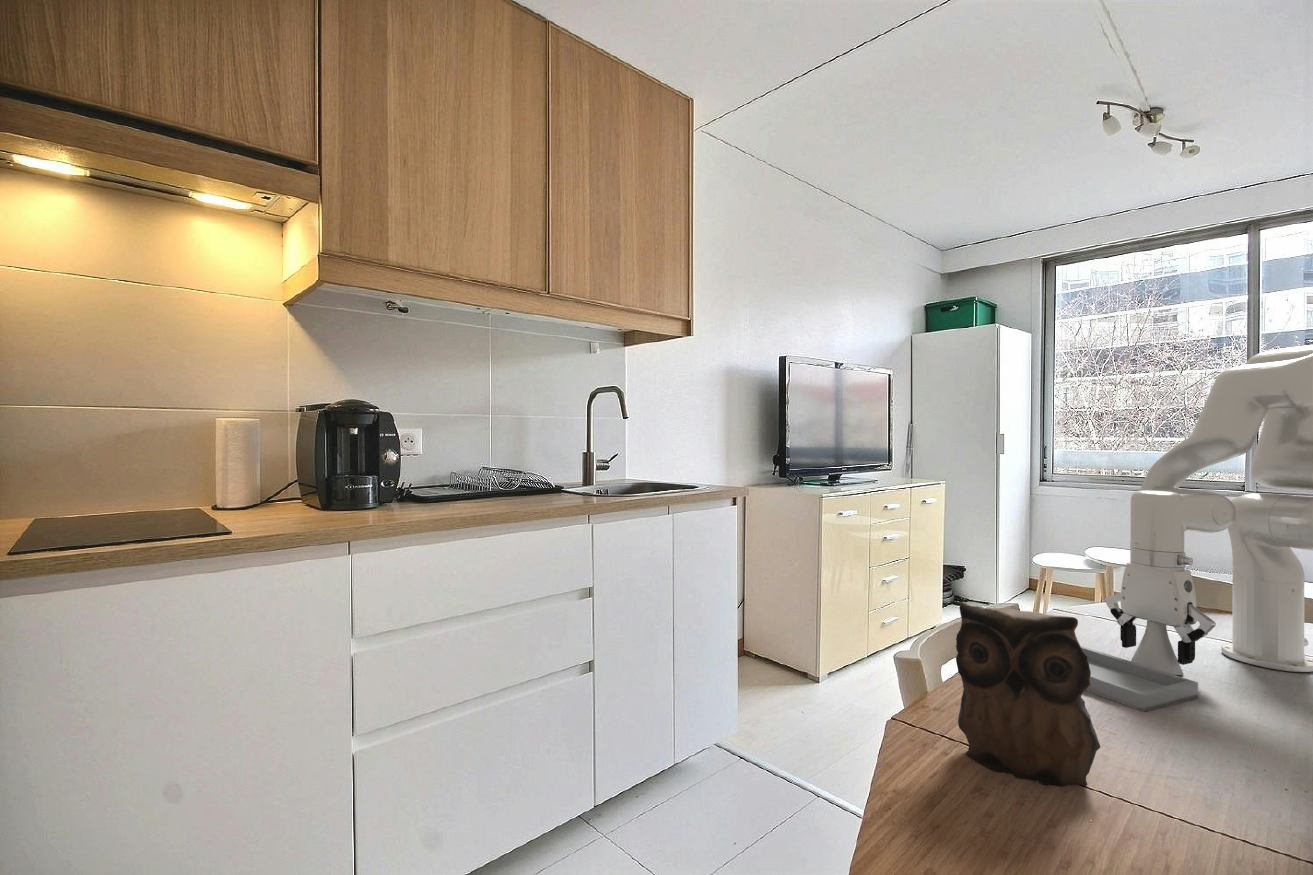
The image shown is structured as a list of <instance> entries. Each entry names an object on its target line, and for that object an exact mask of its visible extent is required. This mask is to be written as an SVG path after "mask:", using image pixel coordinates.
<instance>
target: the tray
mask: <svg viewBox="0 0 1313 875" xmlns="http://www.w3.org/2000/svg"><path fill="white" fill-rule="evenodd" d="M1080 646H1081V648H1082V650H1083V652H1084V653H1085V654H1086V655H1087V656H1088V658H1087V659H1088V663H1089V667H1090V671H1091V676H1090V683H1091V685H1090V686H1089V687H1088V688H1087V689H1086V690H1085V691H1087V692H1089V693H1093V694H1095V695H1097V696H1101V697H1103V698H1106V699H1108V700H1110V701H1111V700H1112V701H1114V702H1116V703H1119V704H1122V705H1124V706H1126V707H1130V708H1133V709H1135V710H1138V711H1140V712H1143V713H1146V712H1150V711H1153V710H1157V709H1161V708H1165V707H1169V706H1173V705H1176V704H1177V705H1178V704H1179V703H1183V702H1187V701H1192V700H1196V699H1198V698H1199V682H1198V681H1194V680H1191V679H1189V678H1185V677H1182V676H1180V675H1173V674H1169V673H1166V672H1163V671H1160V670H1157V669H1153V668H1150V667H1147V666H1144V665H1140V664H1137V663H1134V662H1131V660H1127V659H1124V658H1121V657H1117V656H1115V655H1111V654H1108V653H1105V652H1101V651H1098V650H1095V649H1092V648H1090V647H1089V648H1088V647H1085V646H1082V645H1080Z"/></svg>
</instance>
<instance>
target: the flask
mask: <svg viewBox="0 0 1313 875" xmlns="http://www.w3.org/2000/svg"><path fill="white" fill-rule="evenodd" d="M1167 628H1168V627H1167V625H1164V624H1160V623H1156V622H1152V621H1147V620H1146V626H1145V630H1144V633H1143V635H1142V638H1141V640H1140V642H1139V644H1138V647H1137V648H1136V650H1135V651H1134V653H1133V656H1132V658H1131V660H1130V661H1131V662H1134V663H1137V664H1140V665H1144V666H1147V667H1150V668H1153V669H1157V670H1160V671H1163V672H1166V673H1169V674H1173V675H1176V676H1184V675H1185V674H1184V672H1183V670H1182V667H1181V664H1179V663H1178V657H1177V655H1176V653H1175V650H1174V649H1173V646H1172V644H1171V641H1170V638H1169V633H1168V629H1167Z"/></svg>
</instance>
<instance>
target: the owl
mask: <svg viewBox="0 0 1313 875" xmlns="http://www.w3.org/2000/svg"><path fill="white" fill-rule="evenodd" d="M959 614H960V618H961V625H960V627H959V628H960V629H959V631H958V632H957V634H956V638H955V640H956V642H955V643H956V645H955V648H956V652H957V654H956V656H955V662H956V666H957V672H958V674H959V676H960V678H961V682H962V687H963V689H962V690H963V691H962V695H961V699H960V708H959V714H958V717H957V718H958V719H957V725H958V727H959V729H960V731H961V732H963V734H964V735H965V737H966V740H967V743H968V749H967V751H966V752H965V754H966V756H967V758H969V759H970V760H972V761H974V762H975V763H977V764H978V765H980V766H982V767H984V768H985V769H986V770H990V771H991V772H995V773H1000V774H1001V773H1002V774H1003V773H1004V774H1010V775H1012V776H1014V778H1016V779H1020V780H1030V781H1034V782H1037V783H1038V784H1040V785H1043V786H1045V787H1046V786H1054V787H1065V786H1083V787H1084V786H1085V787H1086V786H1088V781H1087V776H1088V775H1089V773H1090V770H1091V768H1092V765H1093V763H1094V760H1095V756H1096V753H1097V751H1098V750H1099V749H1101V745H1100V742H1099V738H1098V735H1097V733H1096V729H1095V728H1094V725H1093V722H1092V719H1091V715H1090V714H1089V712H1088V709H1087V707H1086V702H1085V701H1086V700H1084V699H1083V698H1082V696H1083V694H1084V693H1085V692H1086V691H1087V690H1086V689H1087V688H1088V687H1089V686H1090V685H1091V683H1090V676H1091V671H1090V667H1089V663H1088V659H1087V658H1088V656H1087V655H1086V654H1085V653H1084V652H1083V650H1082V648H1081V646H1082V645H1081V644H1080V642H1079V640H1078V637H1077V635H1076V629H1077V627H1078V625H1079V620H1078V618H1076V617H1075V616H1074V617H1073V616H1067V615H1066V616H1064V615H1052V614H1046V613H1042V612H1035V611H1030V610H1017V609H1013V608H1008V607H1007V608H1005V607H1004V608H1003V607H1002V608H999V607H998V608H995V607H983V606H979V605H970V604H967V603H966V602H965V601H962V602H960V603H959Z"/></svg>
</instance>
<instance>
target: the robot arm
mask: <svg viewBox="0 0 1313 875" xmlns="http://www.w3.org/2000/svg"><path fill="white" fill-rule="evenodd" d="M1262 424H1263V425H1262ZM1261 426H1262V427H1261ZM1260 428H1261V432H1260V436H1259V439H1258V441H1257V444H1256V447H1255V448H1256V449H1255V451H1254V455H1253V459H1252V461H1251V462H1252V463H1251V467H1250V474H1251V478H1252V479H1253V481H1254V482H1255V483H1256V484H1258V485H1260V486H1262V487H1264V488H1269V489H1273V490H1280V491H1281V490H1282V491H1294V492H1308V493H1313V344H1309V345H1301V346H1293V347H1283V348H1278V349H1277V348H1276V349H1273V350H1272V349H1271V350H1268V351H1263V352H1260V353H1256V354H1255V355H1253V356H1251V357H1250V358H1249V359H1247V361H1246V363H1245V364H1244V365H1238V366H1234V367H1230V368H1228V369H1226V370H1224V371H1222V372H1221V373H1219V375H1218V376H1217V377H1216V379H1214V382H1213V384H1212V387H1211V389H1210V391H1209V393H1208V396H1207V397H1206V400H1205V402H1204V405H1203V408H1202V410H1201V412H1200V415H1199V416H1198V419H1197V421H1196V423H1195V426H1194V428H1193V431H1192V432H1191V434H1189V436H1188V437H1187V438H1185V439H1184V440H1183V441H1181V442H1179V443H1178V444H1176V445H1175V446H1174V447H1172V448H1171V449H1170V450H1168V451H1167V452H1166V453H1164V455H1162V456H1160V458H1159V459H1158V460H1156V461H1155V463H1153V464H1152V466H1151V467H1150V468H1149V469H1148V472H1147V473H1146V475H1145V477H1144V480H1143V482H1142V483H1141V487H1140V490H1137V491H1135V492H1134V493H1132V495H1131V497H1130V547H1129V548H1130V554H1129V556H1130V557H1129V560H1130V561H1129V562H1128V561H1127V562H1126V564H1125V567H1124V571H1123V576H1122V581H1121V588H1120V592H1118V593H1116V594H1112V595H1111V596H1108V597H1105V598H1104V602H1105V604H1106V606H1107V607H1108V609H1109V610H1110V613H1111V615H1112V616H1113V617H1114V618H1115V619H1116V623H1117V624H1118V625H1119V627H1120V630H1119V631H1120V633H1119V636H1120V637H1119V638H1120V641H1121V647H1122V648H1124V649H1127V648H1134V647H1135V646H1137V626H1136V624H1134V622H1136V620H1137V619H1141V620H1144V621H1146V622H1147V621H1152V622H1156V623H1160V624H1164V625H1166V626H1167V627H1168V626H1169V627H1173V628H1174V630H1175V632H1176V633H1177V634H1178V636H1179V638H1180V639H1181V640H1178V641H1177V660H1178V663H1179V665H1188V664H1192V663H1193V662H1194V661H1195V660H1196V642H1197V641H1199V640H1200V639H1202V638H1204V637H1206V636H1207V635H1208V634H1209V633H1210V632H1211V631H1212V630H1213V628H1215V627H1216V625H1217V624H1216V622H1215V621H1214V620H1213V619H1212V618H1210V617H1209V616H1208V615H1207V614H1205V613H1204V612H1202V611H1201V610H1200V609H1198V607H1197V597H1196V596H1197V595H1196V589H1195V583H1194V580H1193V576H1192V572H1191V570H1190V569H1186V568H1185V567H1186V566H1192V565H1193V564H1194V559H1193V558H1192V557H1188V556H1187V555H1186V551H1185V532H1186V531H1191V532H1198V533H1205V534H1209V533H1210V534H1212V533H1219V532H1222V531H1224V530H1227V531H1228V534H1229V539H1230V545H1231V554H1232V630H1231V631H1232V633H1231V634H1232V635H1231V636H1232V639H1231V640H1232V642H1230V643H1225V644H1222V645H1221V652H1222V653H1223V654H1224V655H1225V656H1227V657H1229V658H1231V659H1233V660H1236V661H1239V662H1242V663H1245V664H1249V665H1252V666H1256V667H1261V668H1266V669H1271V670H1277V671H1285V672H1292V673H1294V672H1295V673H1312V672H1313V659H1312V658H1310V657H1308V656H1306V655H1305V647H1307V646H1308V645H1309V640H1308V639H1307V638H1305V579H1306V578H1305V570H1304V567H1303V564H1302V563H1301V561H1300V559H1299V558H1298V556H1297V555H1296V553H1295V552H1294V551H1293V550H1292V549H1300V550H1307V551H1313V497H1312V496H1298V495H1290V494H1278V493H1263V492H1260V493H1259V492H1258V493H1256V492H1255V493H1253V492H1252V493H1245V494H1241V495H1239V496H1237V497H1235V498H1233V499H1232V500H1230V499H1229V497H1227V496H1225V495H1223V494H1221V493H1218V492H1214V491H1206V490H1195V489H1187V488H1185V489H1184V488H1180V486H1181V485H1182V484H1183V483H1184V481H1186V480H1187V479H1188V478H1189V477H1190V476H1192V475H1193V474H1196V473H1197V472H1198V471H1201V470H1203V469H1205V468H1208V467H1210V466H1213V465H1216V464H1220V463H1223V462H1225V461H1229V460H1231V459H1235V458H1237V457H1240V456H1242V455H1245V454H1246V453H1248V452H1249V451H1250V450H1251V449H1252V447H1253V444H1254V442H1255V440H1256V437H1257V435H1258V433H1259V430H1260ZM1119 602H1120V605H1119ZM1119 606H1120V607H1119ZM1197 622H1198V623H1199V626H1198V627H1197V628H1195V629H1194V628H1193V626H1192V625H1196V623H1197Z"/></svg>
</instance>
